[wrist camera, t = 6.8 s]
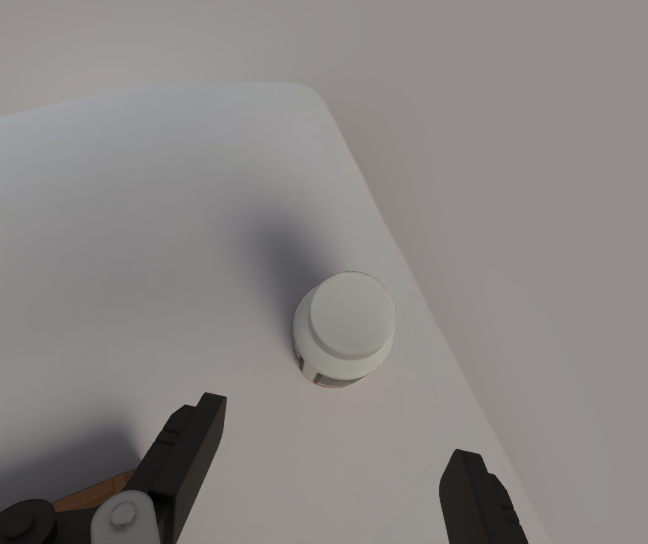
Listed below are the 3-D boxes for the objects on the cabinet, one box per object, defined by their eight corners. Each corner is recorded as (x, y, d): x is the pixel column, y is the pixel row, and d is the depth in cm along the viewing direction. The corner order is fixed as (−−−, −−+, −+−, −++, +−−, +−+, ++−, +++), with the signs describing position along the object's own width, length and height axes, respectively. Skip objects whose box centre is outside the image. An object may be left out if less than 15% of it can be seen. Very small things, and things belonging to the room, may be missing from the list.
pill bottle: (383, 340, 26) (432, 299, 17) (342, 405, 24) (372, 400, 15) (322, 297, 26) (336, 236, 17) (277, 357, 25) (267, 324, 16)
